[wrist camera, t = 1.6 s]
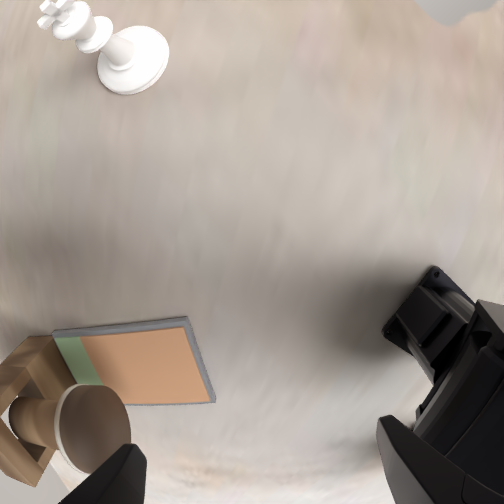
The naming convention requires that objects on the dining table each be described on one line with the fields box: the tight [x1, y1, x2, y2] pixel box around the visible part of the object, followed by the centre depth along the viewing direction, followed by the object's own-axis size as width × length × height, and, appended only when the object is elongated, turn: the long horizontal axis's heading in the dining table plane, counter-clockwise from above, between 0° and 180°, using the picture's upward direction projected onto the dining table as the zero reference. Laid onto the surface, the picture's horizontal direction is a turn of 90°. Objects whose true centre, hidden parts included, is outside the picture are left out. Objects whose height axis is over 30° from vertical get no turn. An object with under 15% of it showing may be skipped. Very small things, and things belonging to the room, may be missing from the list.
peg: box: [9, 384, 131, 475], centre depth 16 cm, size 8×6×6 cm
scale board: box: [52, 317, 216, 405], centre depth 23 cm, size 13×8×1 cm, turn 101°
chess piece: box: [37, 0, 169, 95], centre depth 11 cm, size 5×5×10 cm
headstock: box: [0, 336, 77, 487], centre depth 18 cm, size 4×7×12 cm, turn 11°
